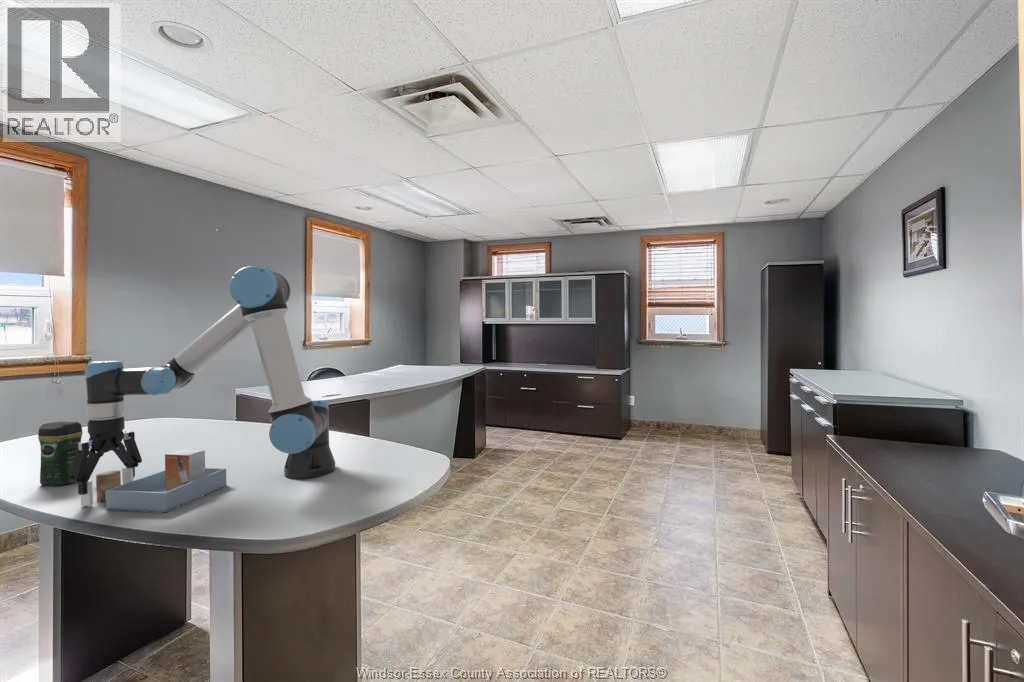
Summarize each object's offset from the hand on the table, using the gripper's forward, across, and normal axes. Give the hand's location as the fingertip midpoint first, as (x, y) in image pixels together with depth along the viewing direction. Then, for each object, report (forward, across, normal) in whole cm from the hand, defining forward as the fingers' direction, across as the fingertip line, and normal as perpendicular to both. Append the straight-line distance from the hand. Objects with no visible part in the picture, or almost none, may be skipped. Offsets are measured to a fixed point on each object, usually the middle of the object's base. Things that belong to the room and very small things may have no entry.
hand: (108, 497), depth 124 cm
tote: (0, -3, +16) cm, 16 cm away
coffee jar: (+1, -10, -28) cm, 30 cm away
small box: (0, -8, +16) cm, 18 cm away
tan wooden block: (0, 0, 0) cm, 0 cm away
